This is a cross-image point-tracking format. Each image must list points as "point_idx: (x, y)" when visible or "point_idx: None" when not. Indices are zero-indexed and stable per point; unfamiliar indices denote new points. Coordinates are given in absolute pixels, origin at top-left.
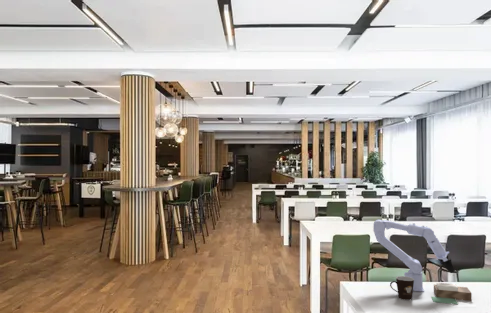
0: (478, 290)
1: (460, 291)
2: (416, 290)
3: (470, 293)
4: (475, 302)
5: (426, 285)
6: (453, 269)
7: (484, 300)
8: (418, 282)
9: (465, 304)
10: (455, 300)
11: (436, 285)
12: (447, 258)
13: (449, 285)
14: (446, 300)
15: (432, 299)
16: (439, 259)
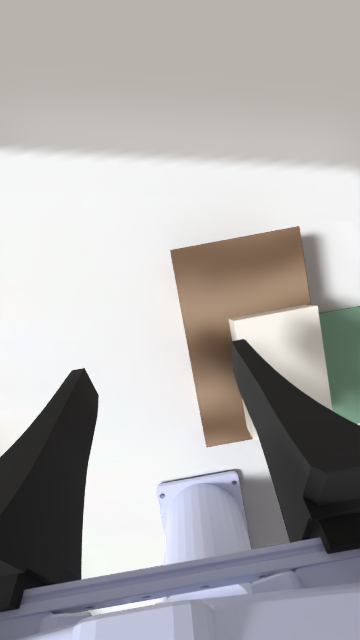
0: (33, 195)
1: (297, 290)
2: (243, 508)
3: (298, 233)
4: (295, 219)
5: (89, 467)
6: (256, 355)
7: (231, 172)
8: (246, 538)
9: (357, 268)
10: (325, 315)
11: (225, 430)
12: (34, 485)
13: (291, 359)
14: (346, 358)
15: (357, 422)
16: (73, 578)
